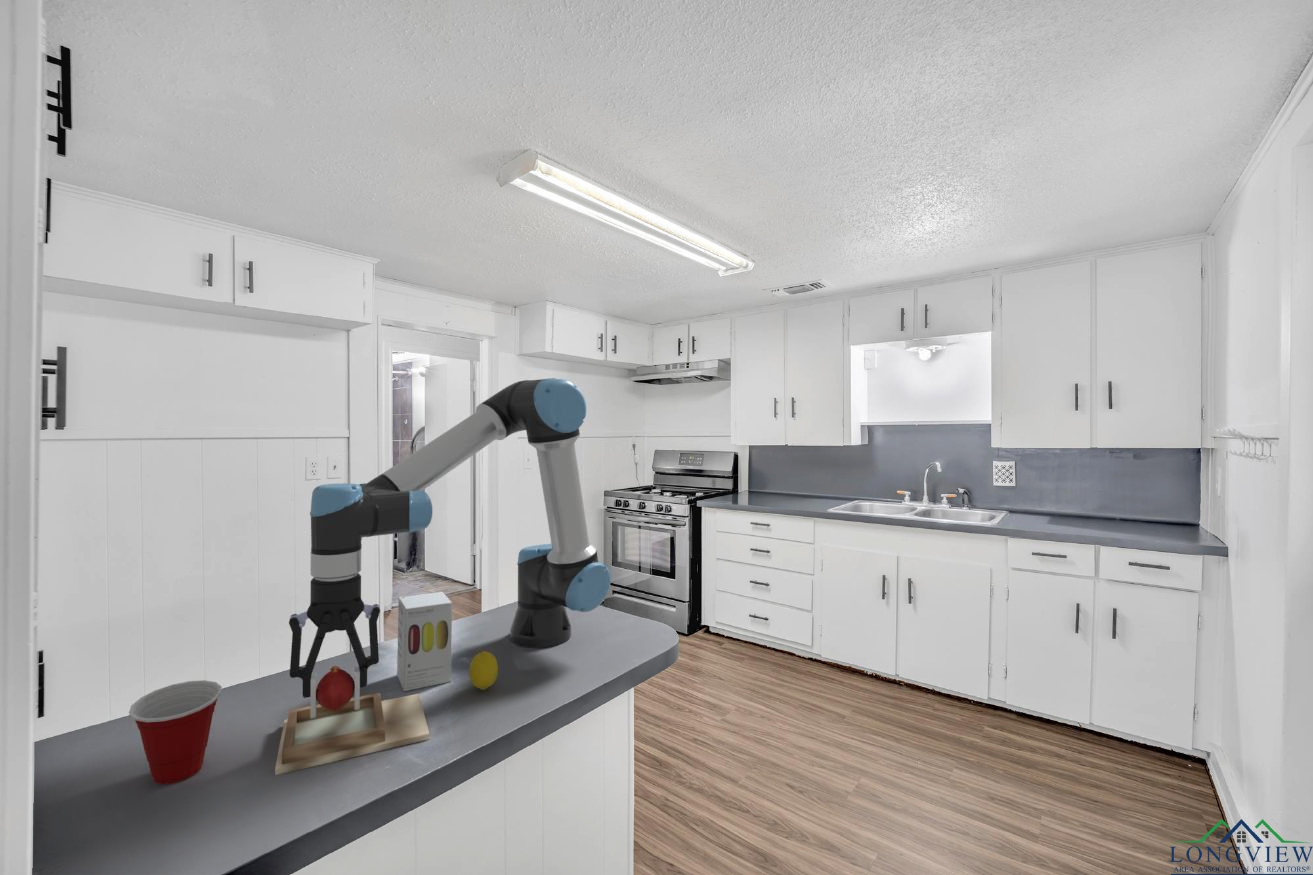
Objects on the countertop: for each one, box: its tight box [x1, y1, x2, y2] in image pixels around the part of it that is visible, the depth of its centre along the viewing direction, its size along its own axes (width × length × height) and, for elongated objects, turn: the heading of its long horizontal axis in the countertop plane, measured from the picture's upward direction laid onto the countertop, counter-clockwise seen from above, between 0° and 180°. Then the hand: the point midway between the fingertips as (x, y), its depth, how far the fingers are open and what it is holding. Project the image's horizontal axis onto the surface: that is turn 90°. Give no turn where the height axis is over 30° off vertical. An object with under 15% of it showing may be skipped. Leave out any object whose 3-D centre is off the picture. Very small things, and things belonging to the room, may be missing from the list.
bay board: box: [274, 692, 430, 776], centre depth 100 cm, size 22×16×3 cm
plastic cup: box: [128, 679, 222, 785], centre depth 87 cm, size 11×11×12 cm
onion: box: [316, 665, 355, 712], centre depth 98 cm, size 6×6×8 cm
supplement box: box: [396, 591, 453, 692], centre depth 121 cm, size 10×9×17 cm
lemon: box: [468, 650, 499, 691], centre depth 116 cm, size 6×6×8 cm
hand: (335, 709), depth 98 cm, fingers closed on onion, 6 cm apart
